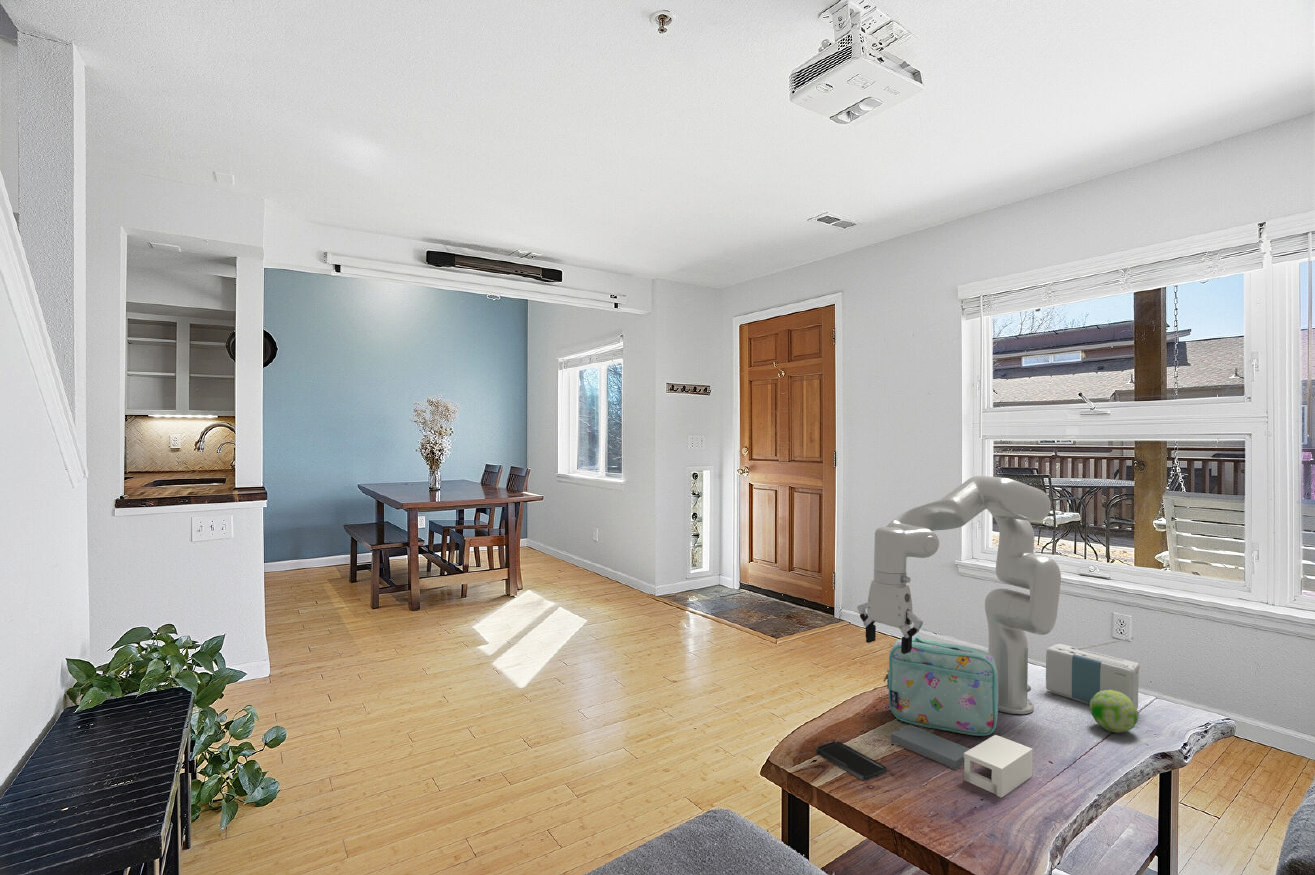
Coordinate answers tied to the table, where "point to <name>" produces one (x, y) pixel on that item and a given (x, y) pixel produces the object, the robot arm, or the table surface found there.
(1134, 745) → the table surface
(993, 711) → the lunch box
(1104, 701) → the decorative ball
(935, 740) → the slate board
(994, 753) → the white hollow box
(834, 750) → the phone
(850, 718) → the table surface
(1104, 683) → the stereo radio cassette player
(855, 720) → the table surface
